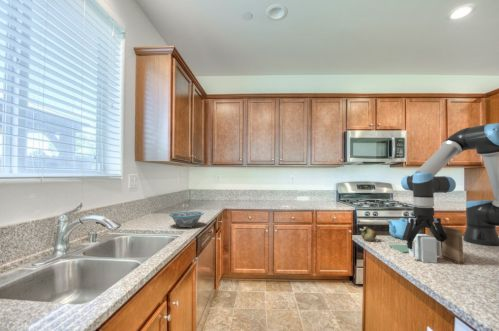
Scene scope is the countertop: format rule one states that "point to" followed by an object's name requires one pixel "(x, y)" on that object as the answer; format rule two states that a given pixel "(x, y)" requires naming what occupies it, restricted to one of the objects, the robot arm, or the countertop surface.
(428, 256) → the small box
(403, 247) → the mat
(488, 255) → the countertop surface
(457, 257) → the screen
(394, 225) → the teapot
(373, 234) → the onion
